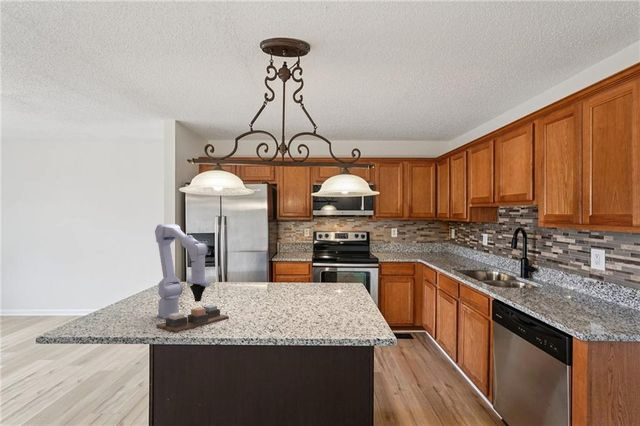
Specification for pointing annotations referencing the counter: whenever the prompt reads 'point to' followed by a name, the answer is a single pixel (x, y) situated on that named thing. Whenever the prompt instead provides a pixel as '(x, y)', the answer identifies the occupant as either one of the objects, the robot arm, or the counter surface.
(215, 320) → the brown socket board
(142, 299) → the counter surface
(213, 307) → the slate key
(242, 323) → the counter surface
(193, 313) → the salmon pink cube
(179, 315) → the cream cube
